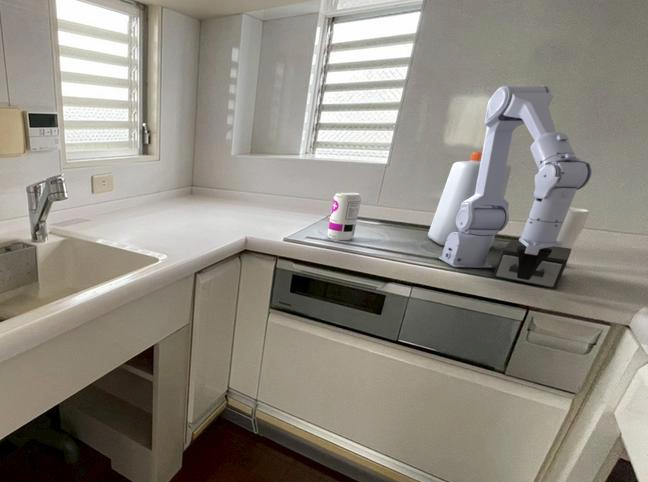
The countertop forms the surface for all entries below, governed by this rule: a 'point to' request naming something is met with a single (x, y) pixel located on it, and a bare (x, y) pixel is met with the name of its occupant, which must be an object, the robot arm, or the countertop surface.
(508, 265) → the pod drawer
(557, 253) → the black drawer unit
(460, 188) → the plastic bottle
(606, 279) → the countertop surface
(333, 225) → the supplement can
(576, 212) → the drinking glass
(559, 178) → the robot arm
